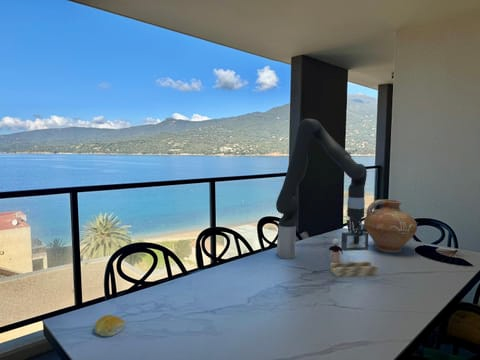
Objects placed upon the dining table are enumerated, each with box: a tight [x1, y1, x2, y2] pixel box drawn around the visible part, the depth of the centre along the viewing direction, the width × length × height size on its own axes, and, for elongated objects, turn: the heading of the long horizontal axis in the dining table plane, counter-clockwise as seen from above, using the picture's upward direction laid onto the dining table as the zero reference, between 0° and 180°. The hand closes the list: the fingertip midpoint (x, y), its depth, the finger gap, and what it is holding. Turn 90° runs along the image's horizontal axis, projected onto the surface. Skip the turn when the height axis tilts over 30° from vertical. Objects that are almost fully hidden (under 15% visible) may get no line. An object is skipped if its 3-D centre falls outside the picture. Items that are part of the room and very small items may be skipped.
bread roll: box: [94, 314, 126, 338], centre depth 101 cm, size 8×9×4 cm
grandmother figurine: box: [327, 238, 344, 263], centre depth 164 cm, size 8×4×13 cm, turn 84°
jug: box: [363, 199, 418, 254], centre depth 186 cm, size 28×28×30 cm
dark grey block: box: [340, 231, 369, 252], centre depth 150 cm, size 12×3×8 cm, turn 97°
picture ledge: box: [329, 261, 379, 278], centre depth 151 cm, size 20×8×4 cm, turn 98°
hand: (354, 243), depth 150 cm, fingers closed on dark grey block, 2 cm apart
